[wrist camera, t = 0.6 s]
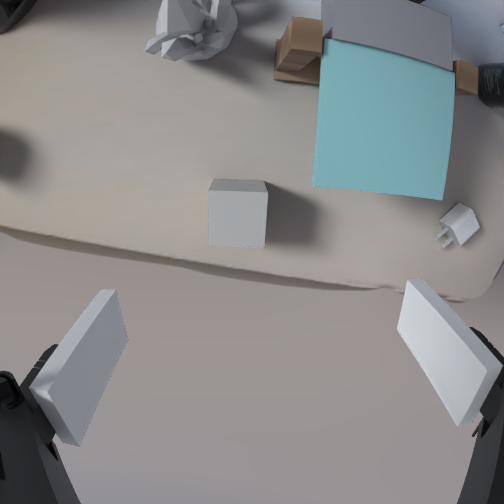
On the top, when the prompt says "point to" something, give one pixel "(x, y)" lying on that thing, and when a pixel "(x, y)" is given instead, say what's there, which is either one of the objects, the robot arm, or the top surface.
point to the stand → (310, 48)
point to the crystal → (193, 29)
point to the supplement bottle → (491, 84)
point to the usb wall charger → (458, 225)
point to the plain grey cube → (237, 213)
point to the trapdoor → (384, 98)
